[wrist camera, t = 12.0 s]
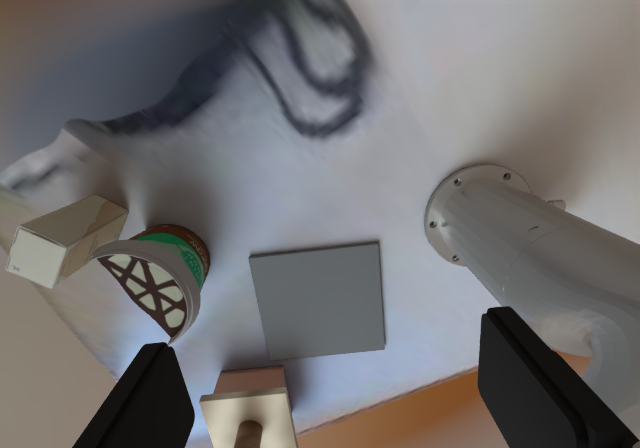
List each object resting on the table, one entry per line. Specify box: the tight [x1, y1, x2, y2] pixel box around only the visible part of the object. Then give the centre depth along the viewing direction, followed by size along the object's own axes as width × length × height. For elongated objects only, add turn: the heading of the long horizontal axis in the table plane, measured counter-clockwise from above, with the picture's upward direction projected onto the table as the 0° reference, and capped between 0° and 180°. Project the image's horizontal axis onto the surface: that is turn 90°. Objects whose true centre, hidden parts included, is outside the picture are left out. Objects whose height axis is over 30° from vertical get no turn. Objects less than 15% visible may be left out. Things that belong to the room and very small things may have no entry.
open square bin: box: [213, 365, 292, 413], centre depth 48 cm, size 9×9×5 cm
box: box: [6, 195, 129, 289], centre depth 35 cm, size 5×4×11 cm
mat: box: [249, 242, 385, 361], centre depth 45 cm, size 16×16×1 cm
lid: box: [199, 387, 298, 448], centre depth 43 cm, size 11×11×5 cm
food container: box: [88, 224, 210, 345], centre depth 37 cm, size 12×6×10 cm, turn 31°
